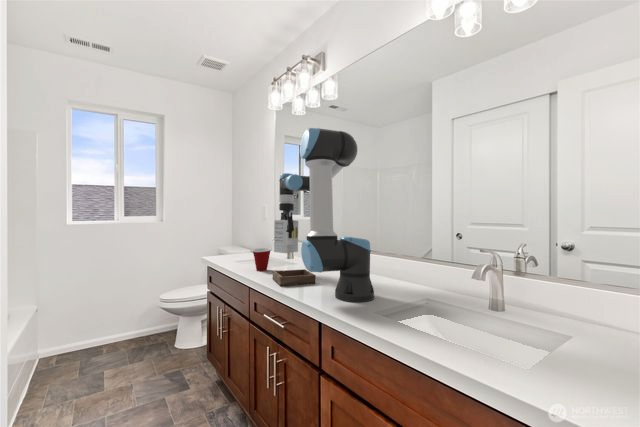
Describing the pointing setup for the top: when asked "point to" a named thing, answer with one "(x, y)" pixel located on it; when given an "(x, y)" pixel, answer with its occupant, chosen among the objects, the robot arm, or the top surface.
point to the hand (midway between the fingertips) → (286, 243)
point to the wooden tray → (293, 277)
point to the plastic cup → (261, 258)
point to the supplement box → (285, 237)
